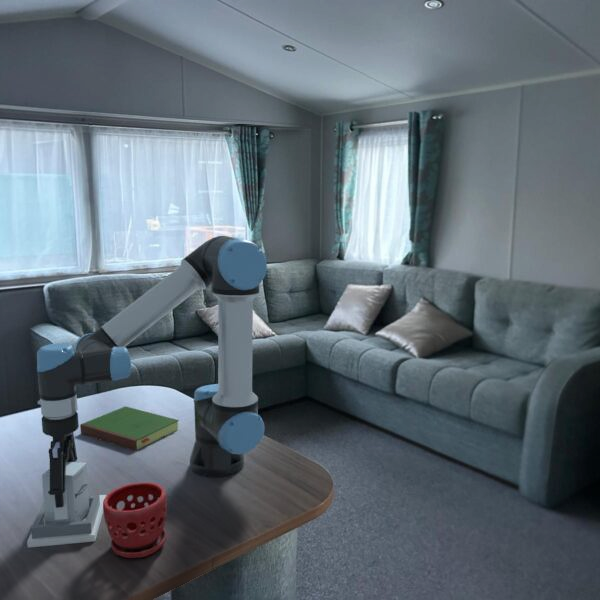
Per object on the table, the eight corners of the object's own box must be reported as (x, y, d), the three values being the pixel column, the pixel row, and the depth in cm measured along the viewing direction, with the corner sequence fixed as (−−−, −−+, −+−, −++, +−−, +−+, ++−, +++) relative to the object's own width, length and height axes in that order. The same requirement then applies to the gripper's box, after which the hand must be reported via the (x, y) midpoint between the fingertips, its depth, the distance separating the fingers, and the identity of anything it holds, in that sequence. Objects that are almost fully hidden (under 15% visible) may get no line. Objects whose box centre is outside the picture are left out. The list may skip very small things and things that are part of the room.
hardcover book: (81, 435, 190) (80, 424, 189) (125, 416, 206) (125, 406, 205) (137, 453, 177) (137, 441, 177) (180, 431, 193) (180, 420, 192)
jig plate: (106, 500, 149) (105, 485, 149) (95, 541, 132) (93, 524, 131) (47, 505, 147) (46, 490, 146) (27, 547, 130) (26, 530, 129)
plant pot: (159, 523, 139) (156, 475, 137) (175, 553, 128) (173, 501, 126) (100, 538, 133) (97, 488, 131) (112, 571, 122) (109, 517, 119)
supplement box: (75, 529, 134) (72, 475, 132) (44, 527, 134) (40, 474, 132) (90, 512, 141) (87, 461, 139) (61, 510, 142) (57, 460, 140)
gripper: (53, 397, 143) (60, 483, 147) (28, 435, 121) (36, 535, 125) (86, 395, 144) (91, 481, 148) (67, 432, 122) (74, 531, 126)
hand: (66, 506), depth 137 cm, fingers open, 10 cm apart
